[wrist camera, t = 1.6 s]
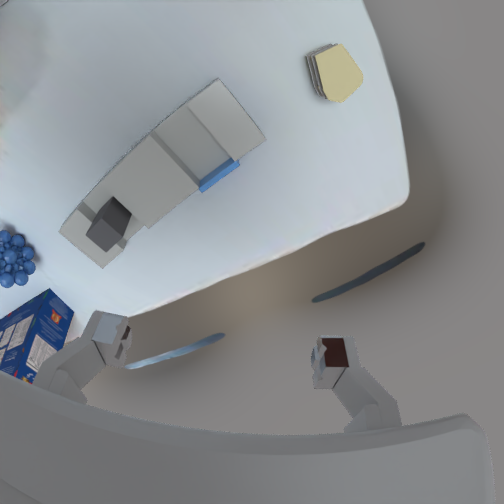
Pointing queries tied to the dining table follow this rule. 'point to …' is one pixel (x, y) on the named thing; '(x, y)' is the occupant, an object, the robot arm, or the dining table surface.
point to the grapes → (14, 260)
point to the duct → (169, 166)
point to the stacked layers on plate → (334, 72)
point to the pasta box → (33, 335)
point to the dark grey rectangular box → (109, 224)
